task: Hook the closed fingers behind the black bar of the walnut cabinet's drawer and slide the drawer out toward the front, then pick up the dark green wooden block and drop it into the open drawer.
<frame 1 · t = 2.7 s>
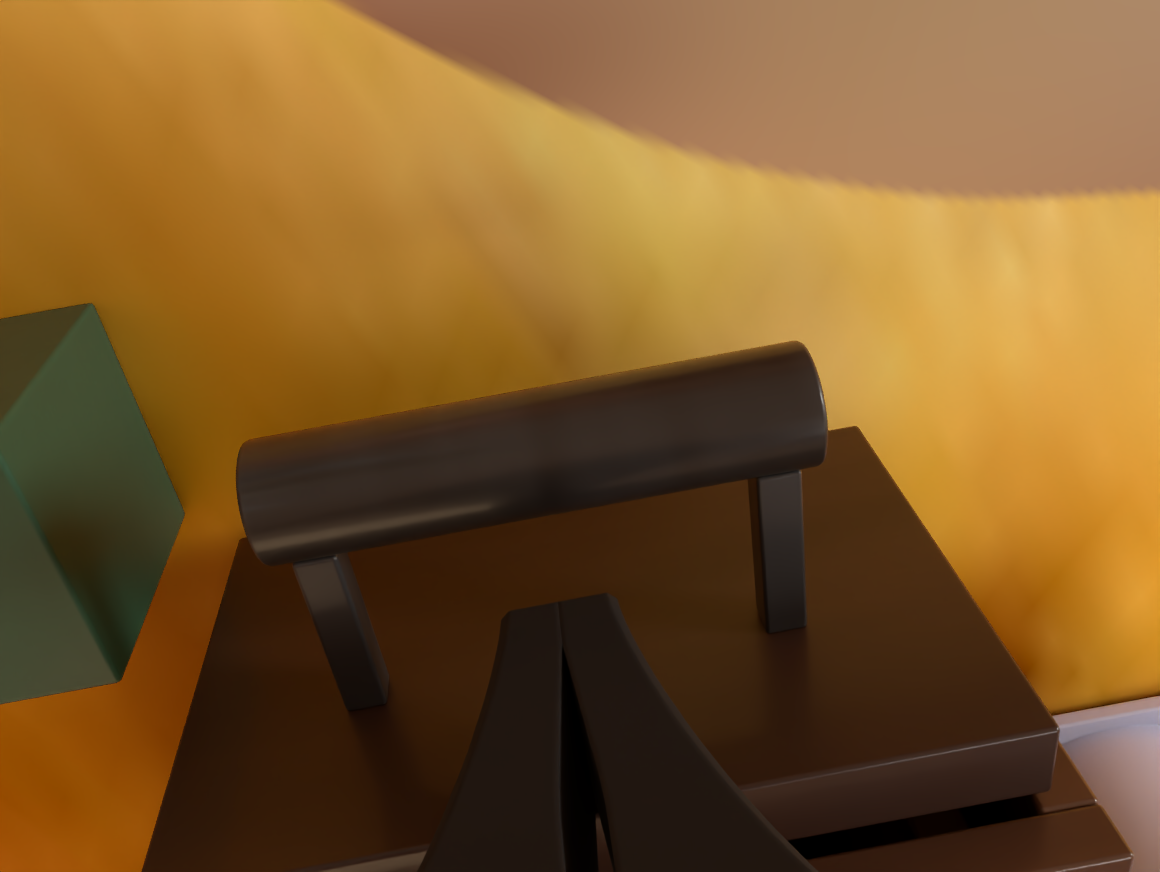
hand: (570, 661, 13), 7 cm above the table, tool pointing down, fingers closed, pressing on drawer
block: (19, 436, 18), on the table
cabinet: (605, 762, 24), on the table
drawer: (609, 810, 18), point 5 cm above the table, slide at 0.2 cm, touching gripper
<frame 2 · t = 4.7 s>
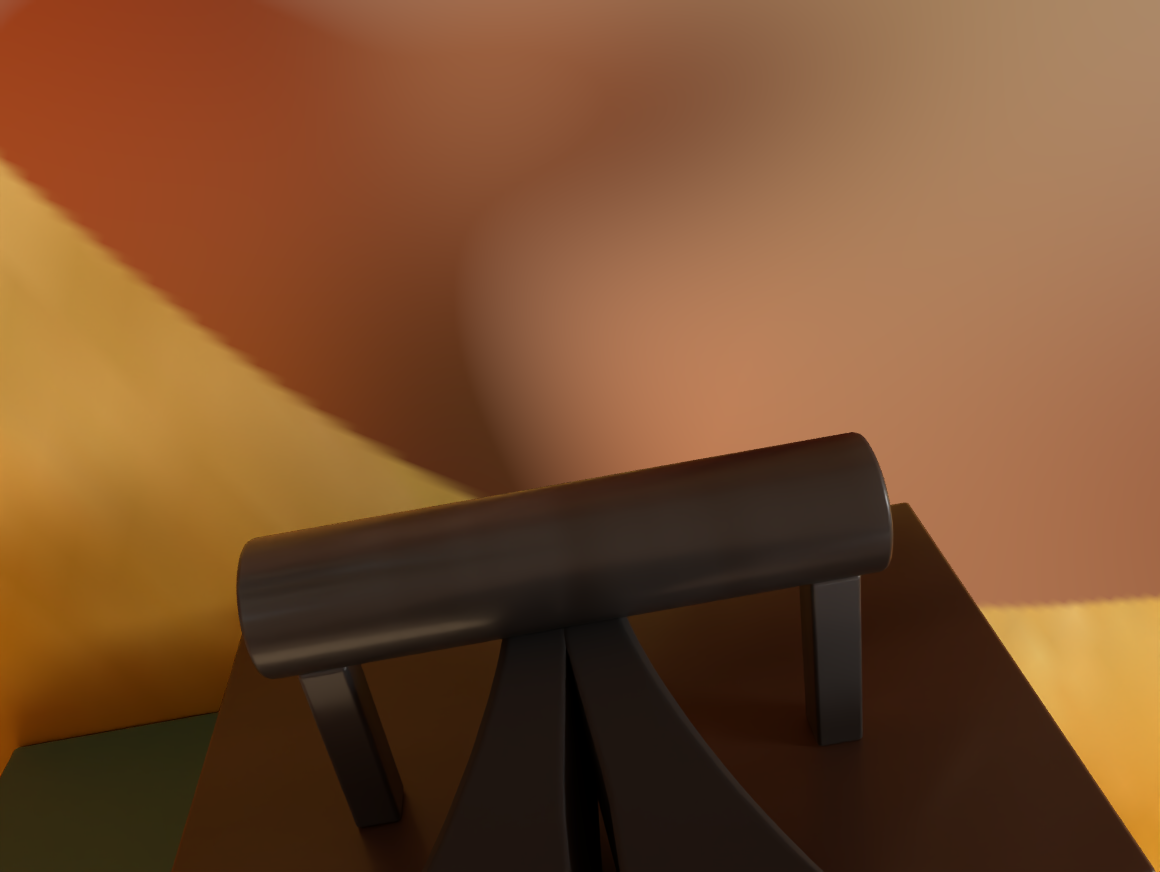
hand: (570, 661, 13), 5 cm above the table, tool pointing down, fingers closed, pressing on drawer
block: (168, 803, 20), on the table
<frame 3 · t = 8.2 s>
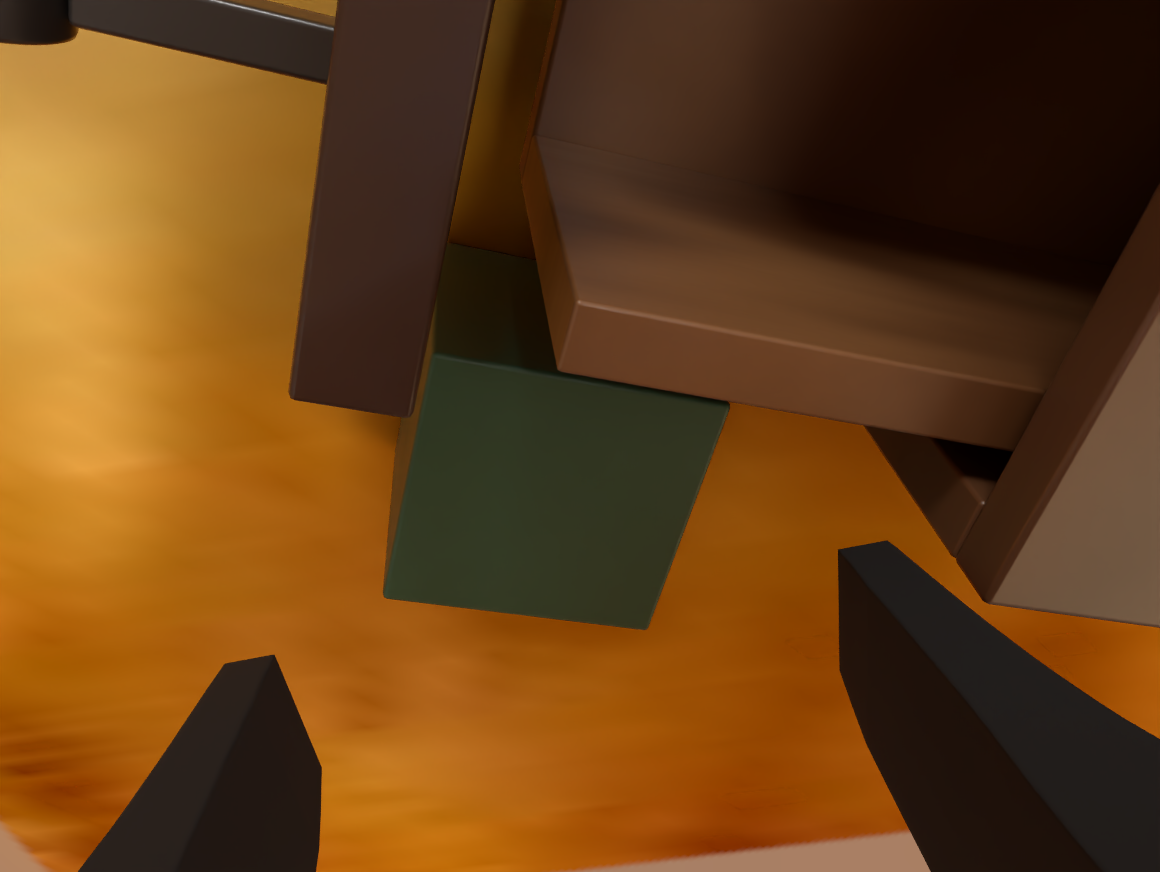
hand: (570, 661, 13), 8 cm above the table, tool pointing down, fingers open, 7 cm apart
block: (531, 371, 19), on the table
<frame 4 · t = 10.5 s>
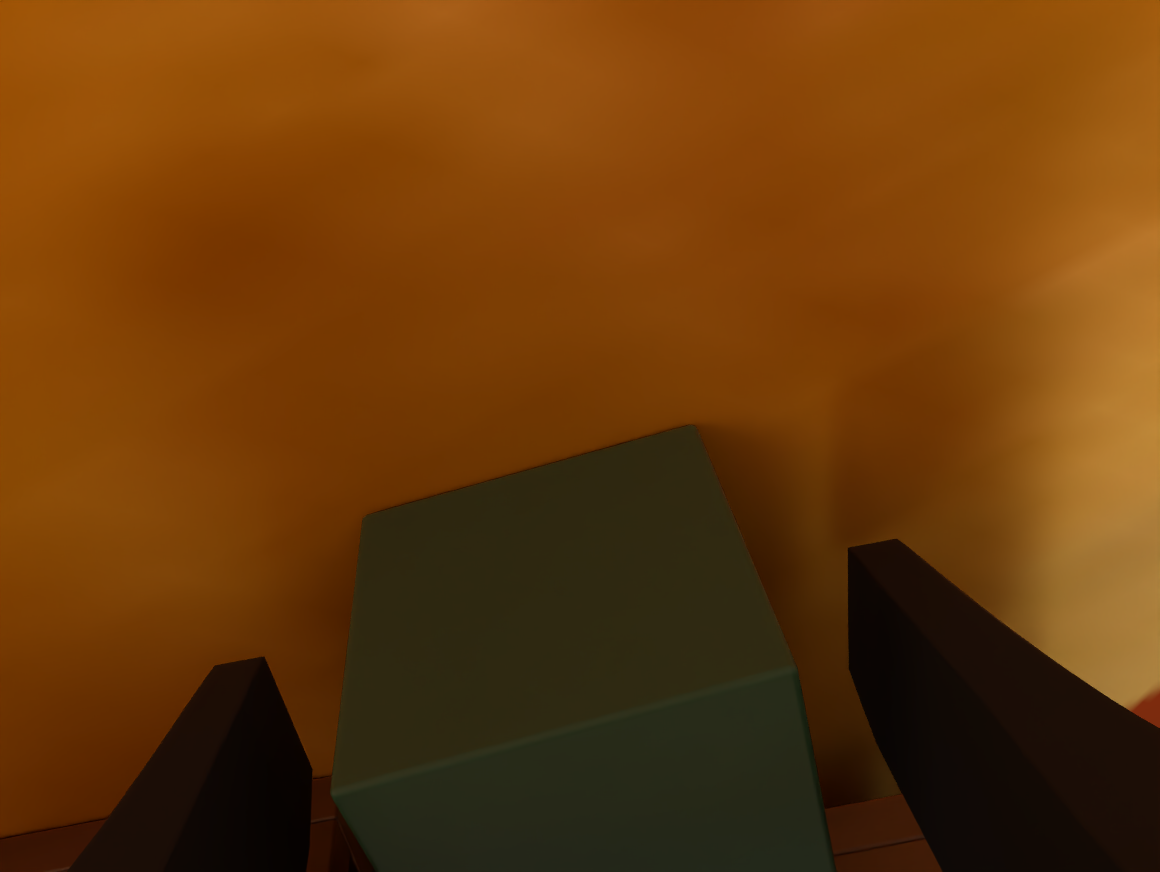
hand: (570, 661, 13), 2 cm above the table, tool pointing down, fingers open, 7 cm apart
block: (570, 595, 14), on the table
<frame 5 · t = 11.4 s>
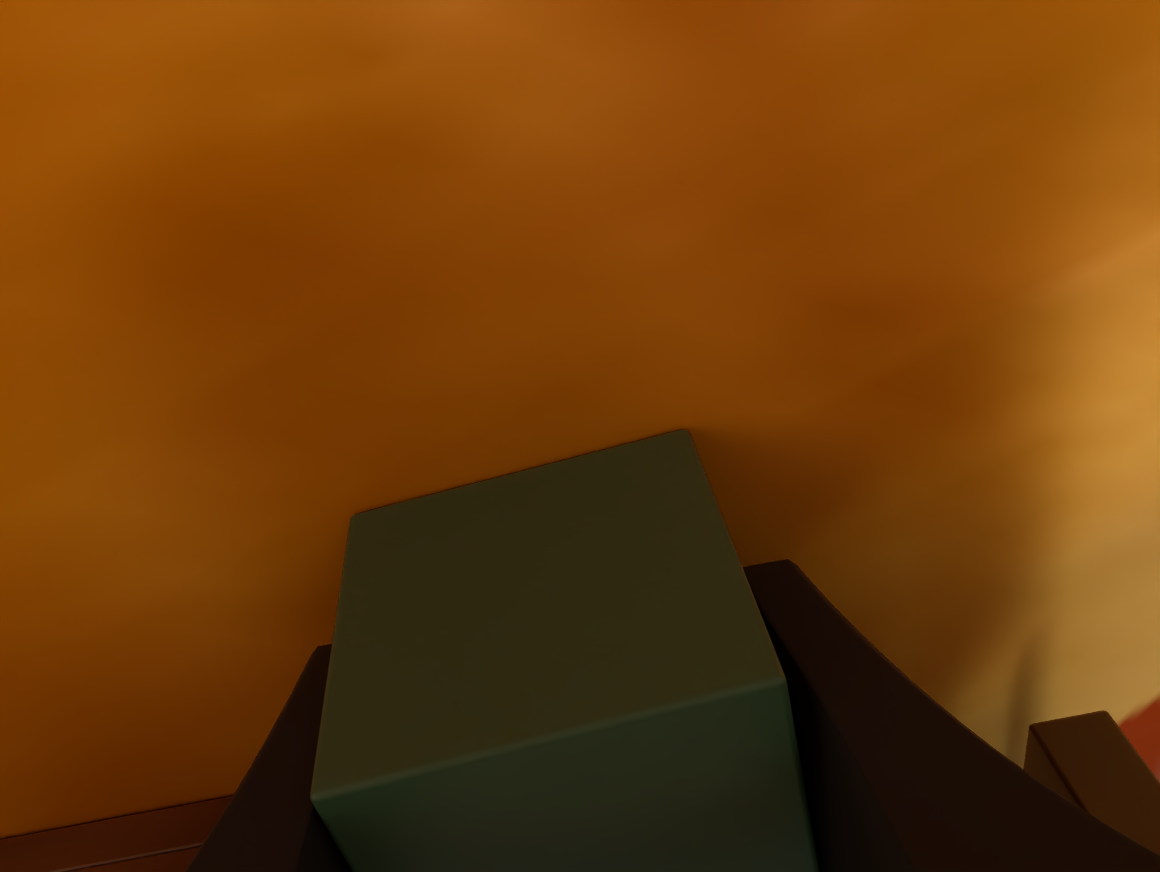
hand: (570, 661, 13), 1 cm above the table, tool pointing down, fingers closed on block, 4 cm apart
block: (559, 598, 14), on the table, touching gripper
when the fingers open (6 cm above the table, at t = 15.1 s): block drops 2 cm, resting on drawer.
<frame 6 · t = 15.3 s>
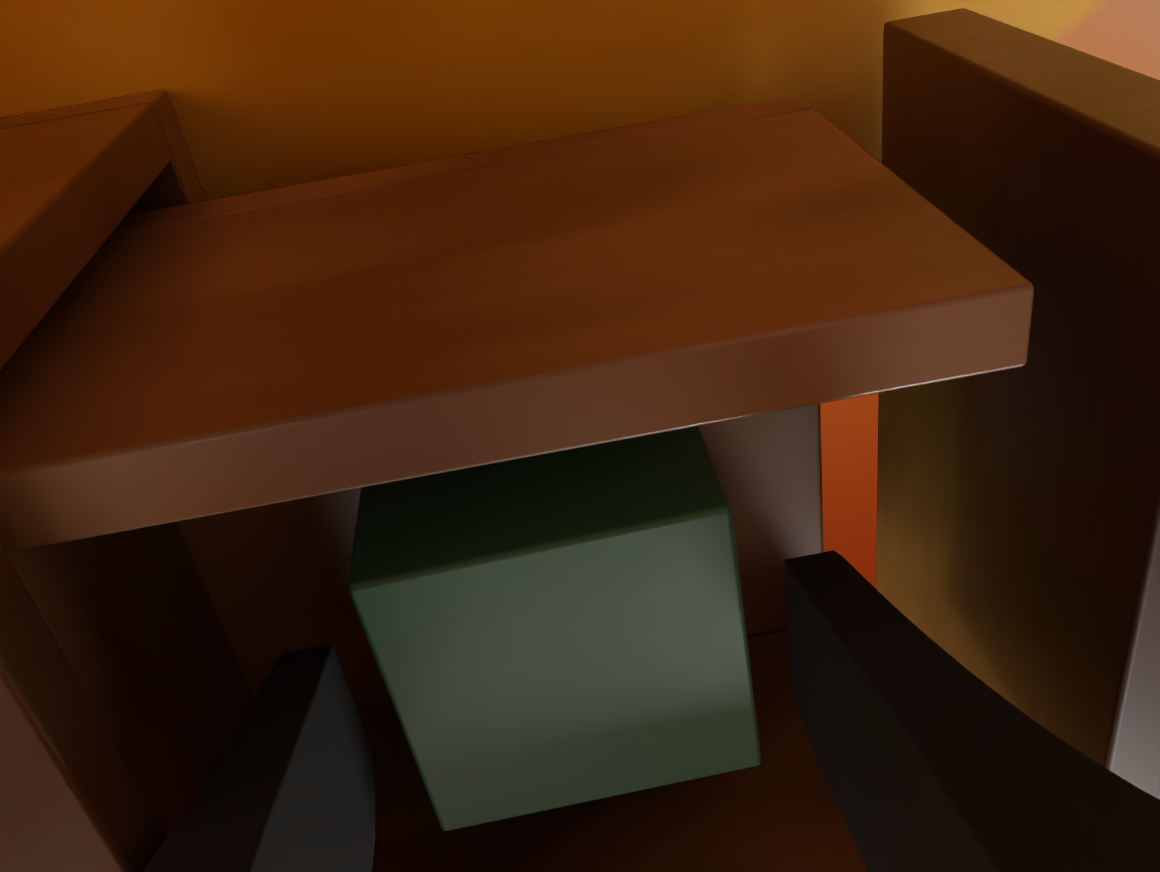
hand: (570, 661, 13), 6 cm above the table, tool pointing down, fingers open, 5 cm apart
block: (544, 485, 16), point 2 cm above the table, touching drawer
drawer: (730, 546, 14), point 5 cm above the table, slide at 10.0 cm, touching block
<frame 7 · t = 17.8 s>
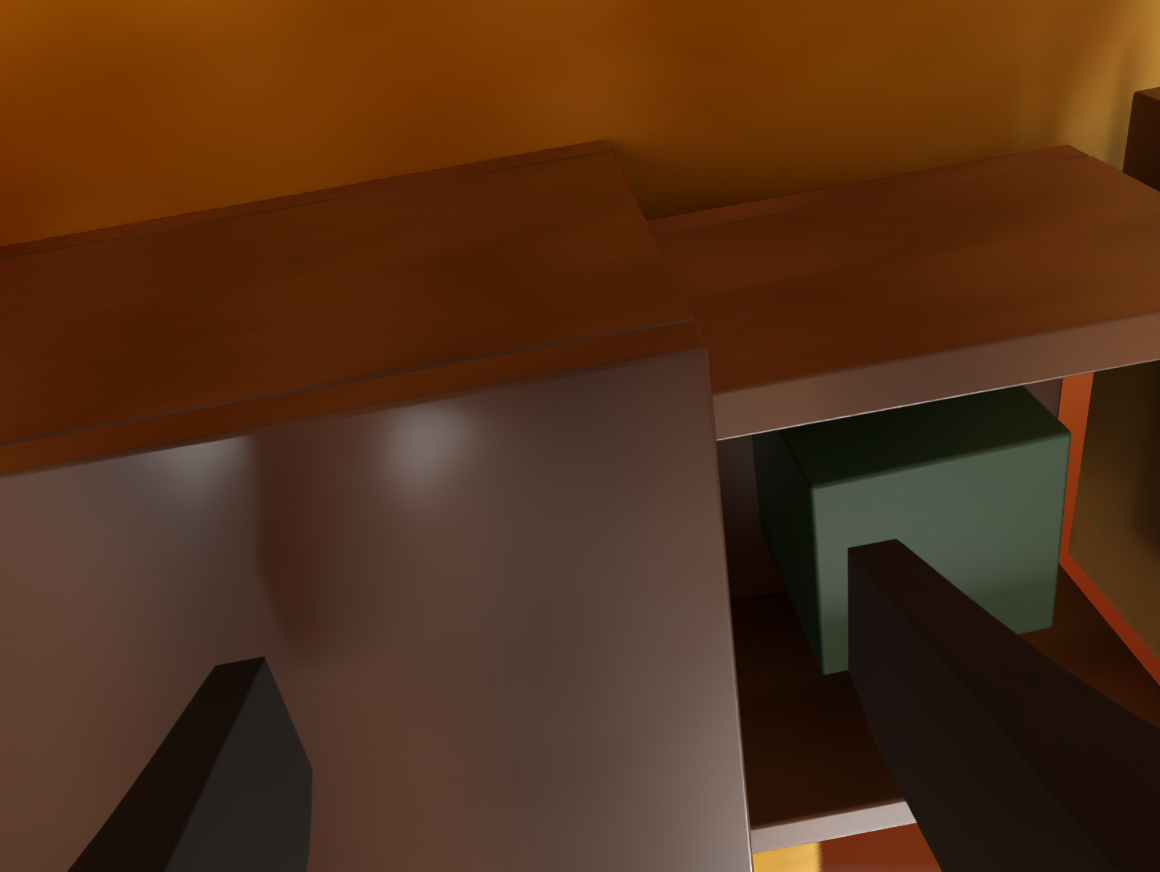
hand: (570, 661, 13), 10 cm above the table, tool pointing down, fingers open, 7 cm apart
block: (854, 433, 21), point 2 cm above the table, touching drawer
cabinet: (324, 472, 23), on the table
drawer: (1024, 471, 19), point 5 cm above the table, slide at 10.0 cm, touching block
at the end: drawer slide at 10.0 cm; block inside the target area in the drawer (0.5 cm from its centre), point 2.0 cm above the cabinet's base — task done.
